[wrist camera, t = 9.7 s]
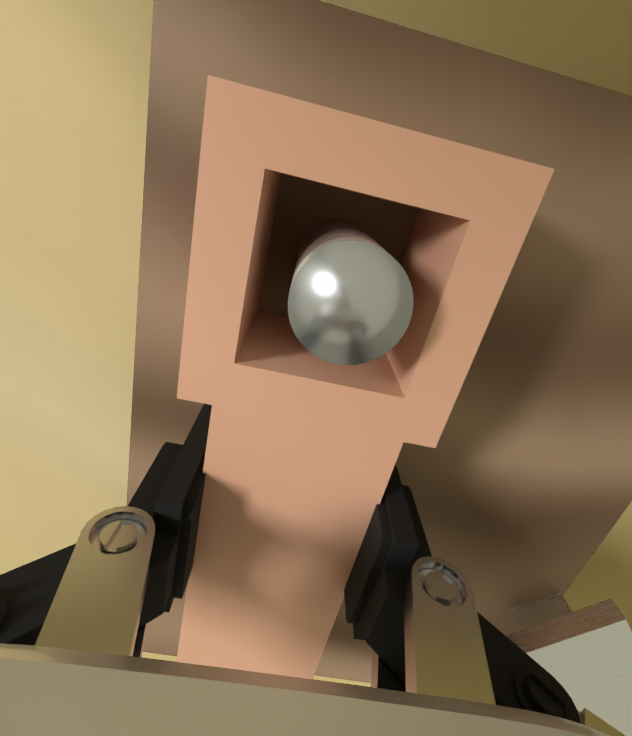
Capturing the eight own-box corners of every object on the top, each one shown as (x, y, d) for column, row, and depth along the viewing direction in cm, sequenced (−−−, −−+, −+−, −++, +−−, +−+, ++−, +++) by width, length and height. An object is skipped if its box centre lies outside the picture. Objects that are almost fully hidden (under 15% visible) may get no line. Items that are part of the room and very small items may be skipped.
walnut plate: (179, -16, 9) (156, -50, 8) (803, 172, 11) (872, 170, 10) (133, 614, 19) (118, 648, 17) (475, 664, 20) (486, 699, 19)
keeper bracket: (420, 490, 16) (481, 668, 10) (506, 451, 15) (626, 619, 9) (495, 606, 18) (576, 796, 13) (570, 578, 18) (693, 767, 12)
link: (246, 113, 9) (208, 74, 6) (473, 174, 9) (555, 168, 6) (180, 602, 16) (146, 708, 13) (315, 621, 16) (315, 728, 13)
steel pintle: (307, 210, 10) (302, 228, 6) (384, 229, 10) (432, 259, 6) (291, 288, 11) (276, 351, 7) (362, 304, 11) (391, 376, 7)
